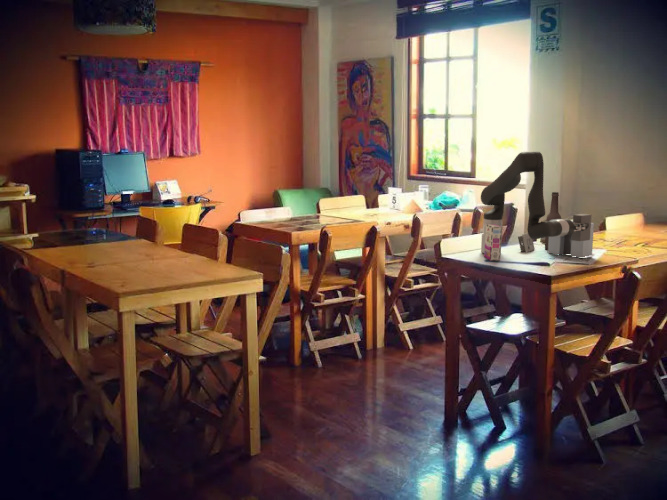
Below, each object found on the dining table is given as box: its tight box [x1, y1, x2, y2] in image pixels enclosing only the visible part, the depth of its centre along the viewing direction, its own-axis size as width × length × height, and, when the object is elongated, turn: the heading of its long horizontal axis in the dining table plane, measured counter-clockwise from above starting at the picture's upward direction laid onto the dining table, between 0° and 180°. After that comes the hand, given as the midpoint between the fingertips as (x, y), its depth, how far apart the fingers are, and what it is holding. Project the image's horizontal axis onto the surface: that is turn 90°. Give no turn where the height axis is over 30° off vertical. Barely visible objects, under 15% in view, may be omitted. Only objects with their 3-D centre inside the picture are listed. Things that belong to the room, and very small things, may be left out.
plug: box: [572, 213, 592, 241], centre depth 366 cm, size 9×4×12 cm, turn 129°
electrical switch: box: [517, 232, 535, 253], centre depth 400 cm, size 9×5×9 cm, turn 141°
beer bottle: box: [544, 191, 562, 251], centre depth 402 cm, size 8×8×30 cm
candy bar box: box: [483, 224, 503, 262], centre depth 374 cm, size 11×5×16 cm, turn 5°
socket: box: [547, 218, 595, 257], centre depth 386 cm, size 8×20×17 cm, turn 39°
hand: (583, 225), depth 366 cm, fingers closed on plug, 4 cm apart
